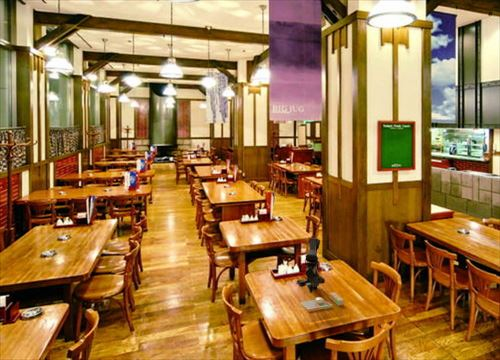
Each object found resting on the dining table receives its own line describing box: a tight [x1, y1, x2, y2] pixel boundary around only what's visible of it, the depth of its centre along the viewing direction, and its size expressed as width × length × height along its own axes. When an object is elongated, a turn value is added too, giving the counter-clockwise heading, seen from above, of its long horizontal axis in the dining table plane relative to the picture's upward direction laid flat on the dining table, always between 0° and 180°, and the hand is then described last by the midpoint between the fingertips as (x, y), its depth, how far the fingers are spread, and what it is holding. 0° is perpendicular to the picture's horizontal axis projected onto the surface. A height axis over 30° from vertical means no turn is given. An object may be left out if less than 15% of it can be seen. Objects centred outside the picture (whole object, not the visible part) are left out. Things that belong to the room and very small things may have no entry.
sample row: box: [329, 291, 344, 307], centre depth 248 cm, size 11×5×5 cm, turn 18°
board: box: [299, 298, 333, 313], centre depth 243 cm, size 13×18×3 cm
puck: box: [315, 296, 324, 304], centre depth 246 cm, size 5×5×2 cm
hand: (310, 293), depth 243 cm, fingers closed
